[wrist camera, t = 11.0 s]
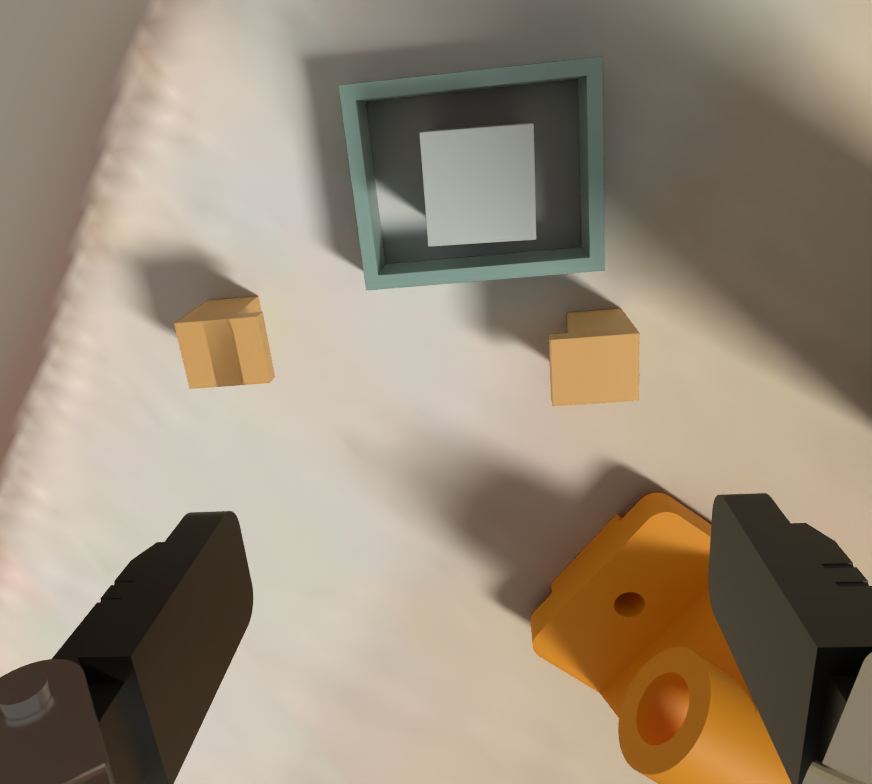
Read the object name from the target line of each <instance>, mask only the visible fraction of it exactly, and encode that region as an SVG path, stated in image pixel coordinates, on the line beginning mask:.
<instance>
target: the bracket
mask: <svg viewBox="0 0 872 784" xmlns="http://www.w3.org/2000/svg"><path fill="white" fill-rule="evenodd" d="M710 539H711V524H710V523H708V522H707V521H705V520H704V519H702V518H701V517H699V516H698V515H696V514H695V513H693V512H692V511H690V510H689V509H688V508H686V507H685V506H683V505H682V504H680V503H679V502H677V501H676V500H674V499H673V498H671V497H670V496H668V495H666V494H663V493H651V494H648V495H646V496H644V497H643V498H641V499H640V500H639V501H638V502H637V504H636V505H635V506H634V507H633V508H632V509H631V510H630V511H629V512H628V513H627V514H626V515H625V516H624V517H622V516H620V515H619V514H616V515H615V516H614V517H613V518H612V519H611V520H610V521H609V522H608V523H607V525H606V526H605V527H604V528H603V529H602V530H601V531H600V532H599V533H598V534H597V535H596V536H595V537H594V538H593V539H592V541H591V542H590V543H589V544H588V545H587V546H586V547H585V548H584V549H583V550H582V551H581V552H580V553H579V554H578V555H577V557H576V558H575V559H574V560H573V561H572V562H571V563H570V564H569V565H568V566H567V567H566V568H565V569H564V570H563V571H562V573H561V574H560V575H559V576H558V577H557V578H556V579H555V580H554V581H553V582H552V583H551V589H552V593H551V595H550V596H549V597H548V598H547V599H546V600H545V601H544V602H543V603H542V604H541V605H540V606H539V607H538V608H537V609H536V610H535V611H534V613H533V614H532V616H531V620H530V621H531V632H532V642H533V648H534V651H535V652H536V654H537V655H538V656H540V657H541V658H543V659H545V660H546V661H548V662H550V663H551V664H553V665H555V666H556V667H558V668H559V669H561V670H563V671H564V672H566V673H568V674H569V675H571V676H573V677H574V678H576V679H578V680H579V681H581V682H583V683H584V684H586V685H588V686H589V687H591V688H592V689H594V690H596V691H597V692H599V693H600V694H601V695H602V696H603V698H604V699H605V700H606V701H607V703H608V704H609V705H610V707H611V708H612V709H613V711H614V712H615V713H616V715H617V716H618V717H619V729H618V732H619V743H620V747H621V750H622V753H623V755H624V758H625V759H626V761H627V762H628V764H629V765H630V766H631V767H632V768H633V769H635V770H636V771H638V772H639V773H641V774H643V775H645V776H646V777H648V778H650V779H651V780H653V781H655V782H656V783H658V784H791V781H790V779H789V777H788V775H787V773H786V770H785V768H784V766H783V764H782V762H781V760H780V757H779V755H778V753H777V751H776V749H775V747H774V744H773V742H772V740H771V738H770V736H769V733H768V731H767V729H766V727H765V725H764V723H763V720H762V718H761V716H760V714H759V712H758V710H757V707H756V705H755V703H754V701H753V699H752V696H751V694H750V692H749V690H748V688H747V686H746V683H745V681H744V679H743V677H742V675H741V673H740V670H739V668H738V666H737V664H736V662H735V659H734V657H733V655H732V653H731V651H730V649H729V646H728V644H727V642H726V640H725V638H724V636H723V633H722V631H721V629H720V627H719V625H718V623H717V620H716V618H715V616H714V613H713V610H712V606H711V602H710V597H709V589H708V568H709V554H710Z"/></svg>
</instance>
